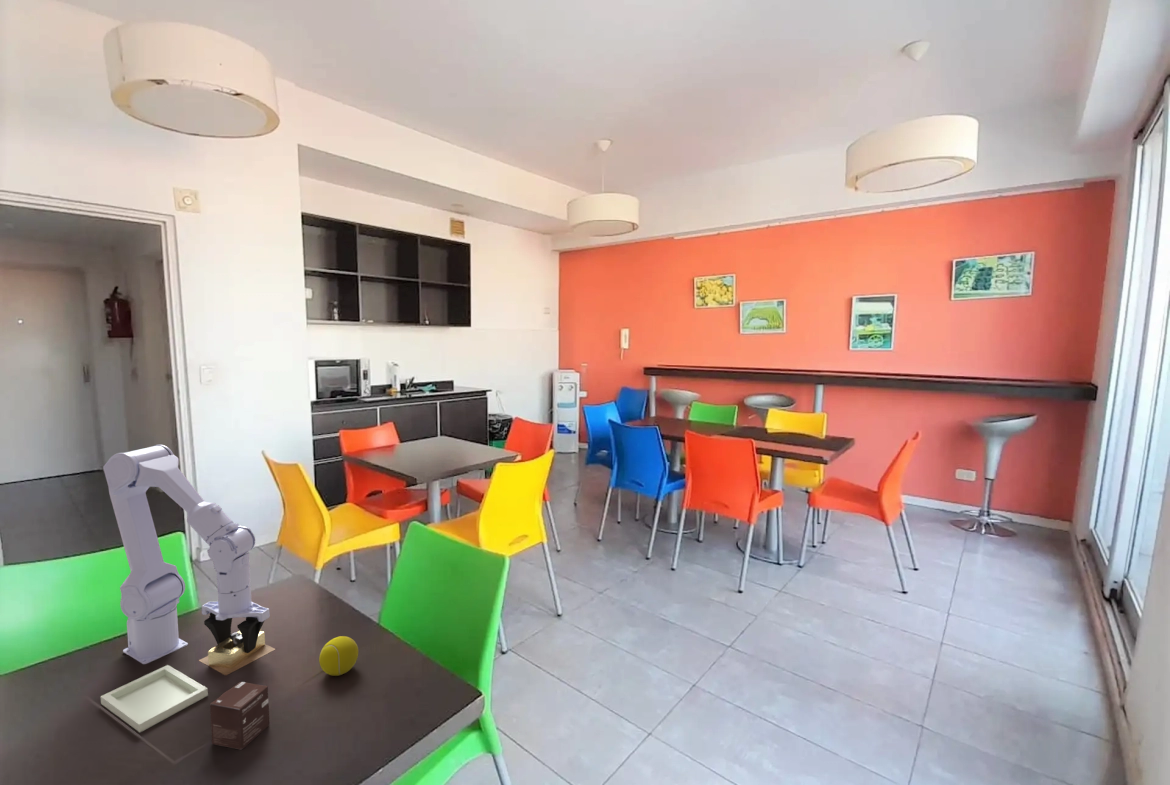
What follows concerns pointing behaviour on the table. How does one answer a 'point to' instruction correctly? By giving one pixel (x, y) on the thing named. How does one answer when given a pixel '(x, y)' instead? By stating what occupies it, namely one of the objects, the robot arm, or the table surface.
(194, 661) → the table surface
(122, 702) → the tray
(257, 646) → the gold hollow block
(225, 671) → the stake base
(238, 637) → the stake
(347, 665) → the tennis ball
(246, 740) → the box
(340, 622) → the table surface
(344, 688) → the table surface
